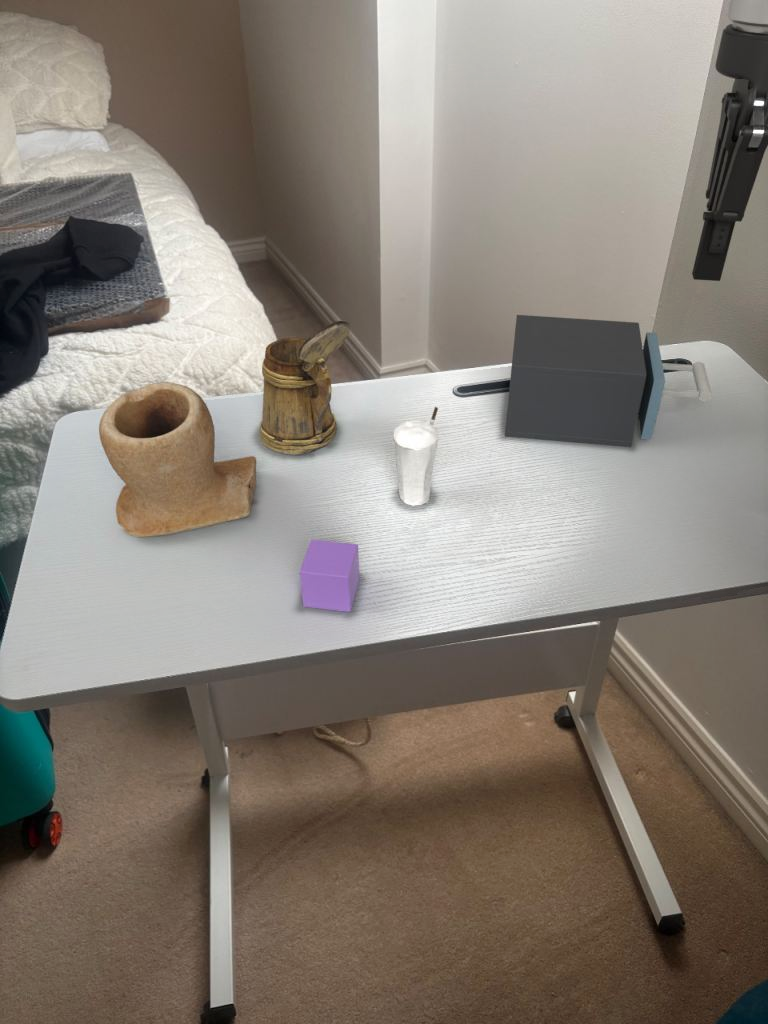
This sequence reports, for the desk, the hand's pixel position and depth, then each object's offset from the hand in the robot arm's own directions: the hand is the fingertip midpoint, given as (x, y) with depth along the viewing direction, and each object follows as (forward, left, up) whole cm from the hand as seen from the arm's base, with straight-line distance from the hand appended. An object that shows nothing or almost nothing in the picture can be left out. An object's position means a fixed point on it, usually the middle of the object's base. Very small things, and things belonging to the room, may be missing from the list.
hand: (705, 277), depth 89 cm
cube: (+34, +35, -18) cm, 52 cm away
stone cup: (+51, +26, -19) cm, 60 cm away
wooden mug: (+42, +11, -19) cm, 48 cm away
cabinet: (+12, 0, -18) cm, 22 cm away
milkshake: (+28, +19, -19) cm, 39 cm away
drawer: (+7, 0, -18) cm, 19 cm away
